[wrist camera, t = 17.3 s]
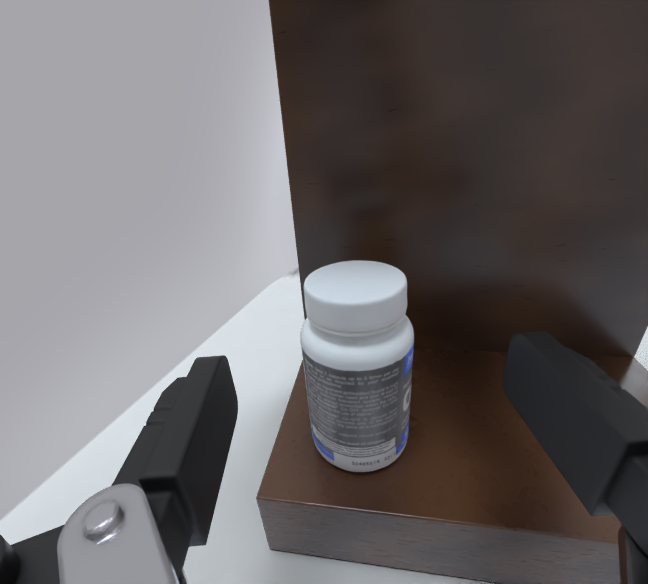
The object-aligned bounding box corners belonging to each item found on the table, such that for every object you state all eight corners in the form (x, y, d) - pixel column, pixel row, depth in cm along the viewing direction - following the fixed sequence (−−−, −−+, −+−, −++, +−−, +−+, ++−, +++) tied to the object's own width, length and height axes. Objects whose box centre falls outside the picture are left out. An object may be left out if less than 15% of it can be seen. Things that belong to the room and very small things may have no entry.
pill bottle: (425, 463, 15) (442, 296, 11) (321, 486, 14) (301, 318, 11) (387, 389, 19) (391, 249, 15) (306, 405, 19) (288, 263, 15)
